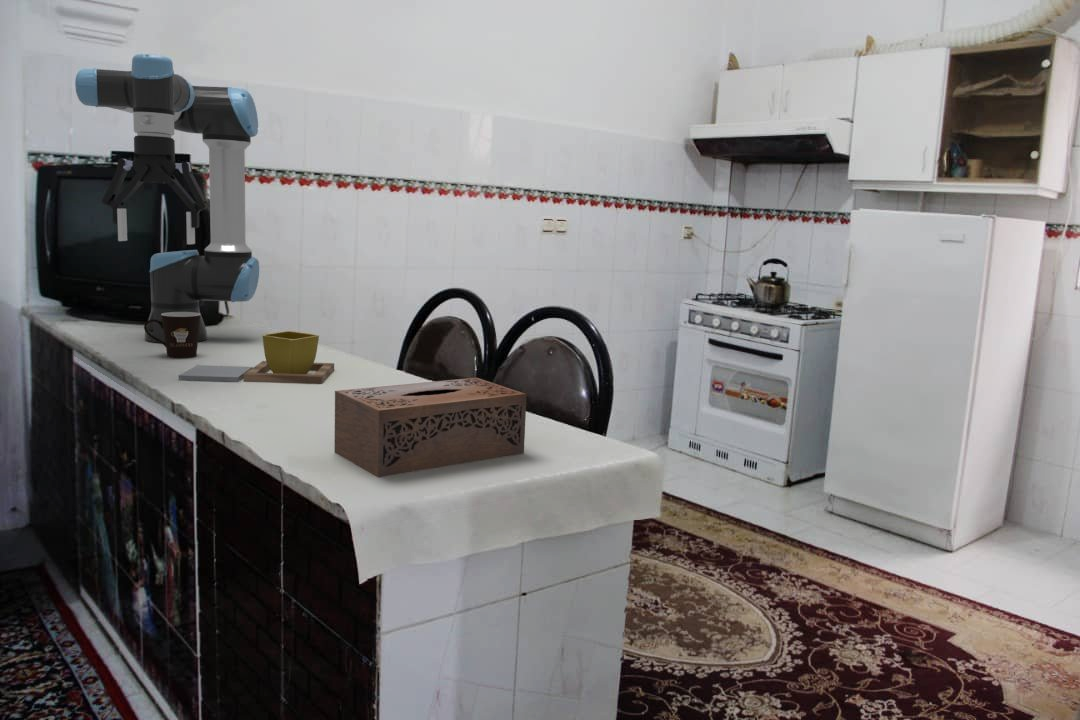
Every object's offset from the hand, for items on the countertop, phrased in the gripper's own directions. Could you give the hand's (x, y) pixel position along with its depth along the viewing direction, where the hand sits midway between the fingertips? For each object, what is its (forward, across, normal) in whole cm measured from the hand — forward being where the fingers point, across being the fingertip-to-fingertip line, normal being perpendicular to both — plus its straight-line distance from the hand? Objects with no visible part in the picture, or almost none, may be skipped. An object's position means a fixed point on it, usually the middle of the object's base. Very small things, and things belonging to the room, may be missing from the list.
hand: (157, 242), depth 182 cm
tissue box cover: (+28, +60, -52) cm, 84 cm away
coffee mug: (+28, -5, +25) cm, 38 cm away
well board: (+28, +26, +6) cm, 38 cm away
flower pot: (+28, +26, +6) cm, 39 cm away
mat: (+28, +11, +3) cm, 30 cm away
